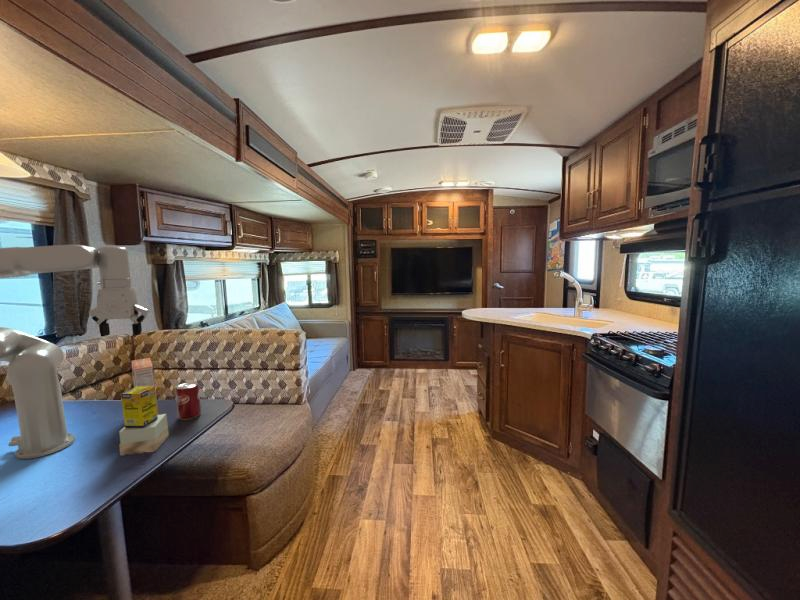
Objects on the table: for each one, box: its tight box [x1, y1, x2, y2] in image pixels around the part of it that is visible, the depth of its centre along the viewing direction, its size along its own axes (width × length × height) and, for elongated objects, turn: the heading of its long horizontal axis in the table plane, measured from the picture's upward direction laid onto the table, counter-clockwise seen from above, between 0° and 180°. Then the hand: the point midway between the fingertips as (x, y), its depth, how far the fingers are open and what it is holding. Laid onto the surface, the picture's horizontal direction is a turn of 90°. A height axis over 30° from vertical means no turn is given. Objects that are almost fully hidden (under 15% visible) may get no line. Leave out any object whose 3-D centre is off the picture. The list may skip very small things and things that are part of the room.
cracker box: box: [131, 357, 160, 415], centre depth 120 cm, size 14×6×21 cm, turn 41°
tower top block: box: [118, 413, 168, 444], centre depth 102 cm, size 9×9×4 cm
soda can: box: [174, 381, 202, 421], centre depth 121 cm, size 7×7×12 cm
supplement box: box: [120, 386, 158, 428], centre depth 101 cm, size 6×6×11 cm
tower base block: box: [118, 425, 169, 456], centre depth 103 cm, size 9×9×4 cm
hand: (121, 335), depth 110 cm, fingers open, 9 cm apart
